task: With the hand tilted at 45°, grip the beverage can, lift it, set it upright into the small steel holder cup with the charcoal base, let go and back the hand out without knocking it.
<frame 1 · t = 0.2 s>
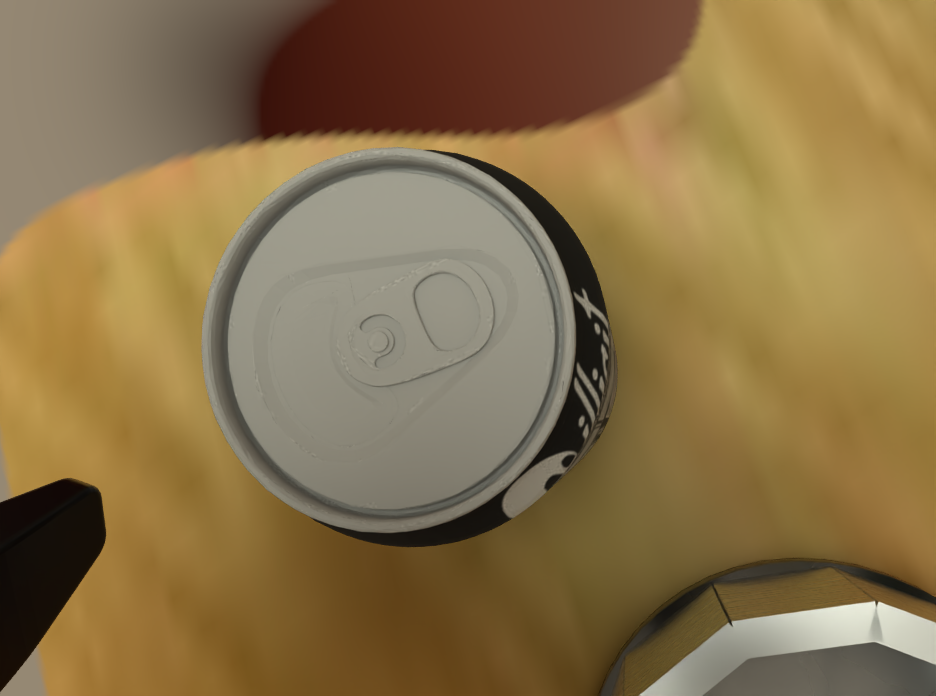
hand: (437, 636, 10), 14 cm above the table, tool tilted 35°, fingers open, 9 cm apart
beverage can: (501, 374, 25), on the table
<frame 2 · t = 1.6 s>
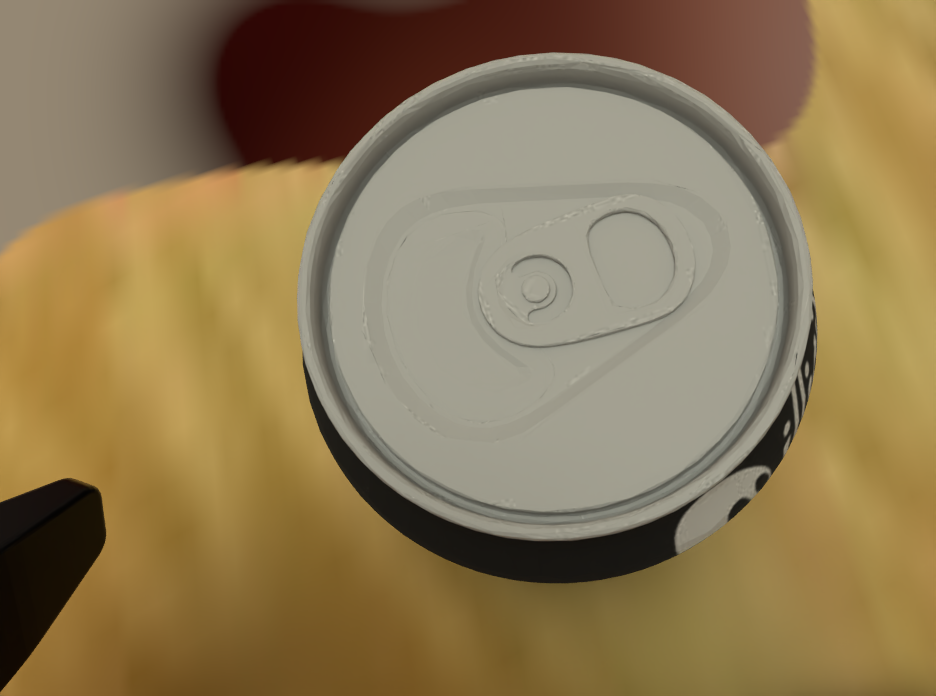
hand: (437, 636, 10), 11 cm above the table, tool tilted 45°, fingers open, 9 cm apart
beverage can: (564, 443, 21), on the table
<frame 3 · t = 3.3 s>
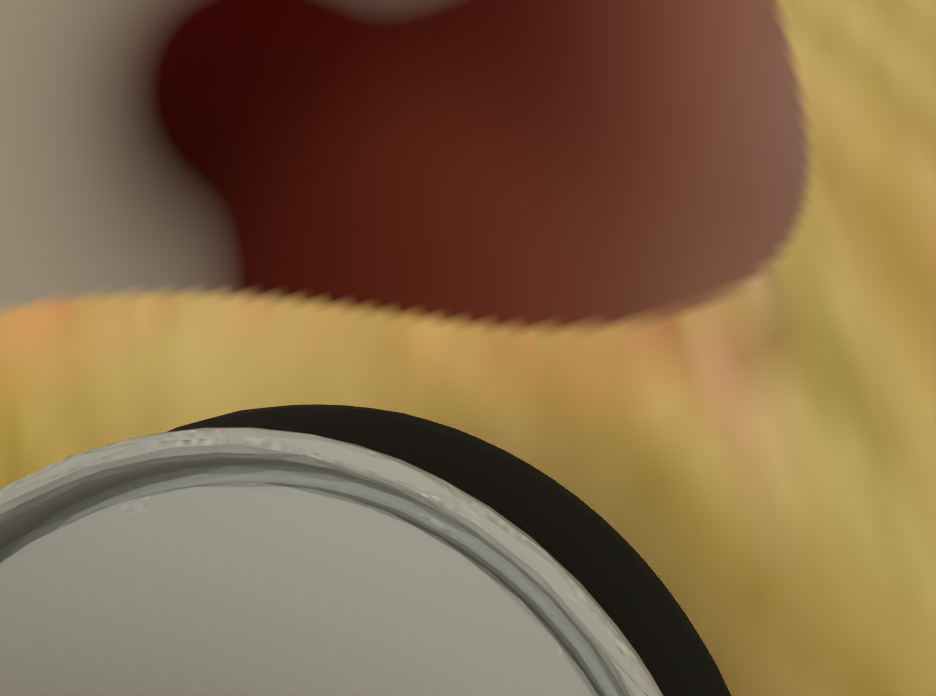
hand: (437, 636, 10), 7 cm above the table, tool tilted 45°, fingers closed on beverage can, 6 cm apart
beverage can: (473, 685, 16), on the table, touching gripper
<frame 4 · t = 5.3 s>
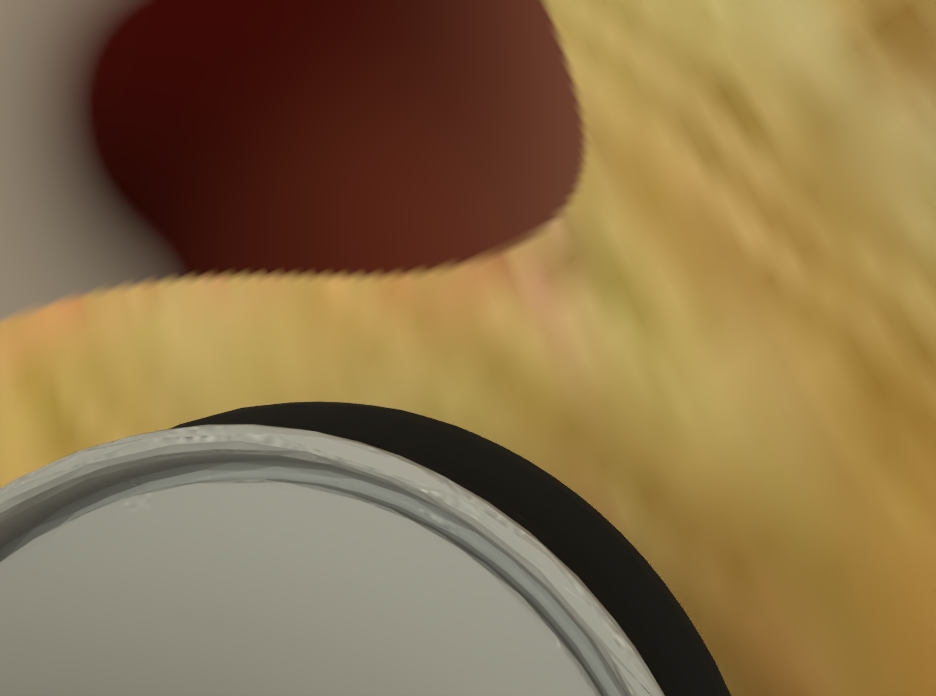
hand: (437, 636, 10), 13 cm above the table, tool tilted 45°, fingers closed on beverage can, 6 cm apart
beverage can: (473, 681, 16), point 6 cm above the table, touching gripper
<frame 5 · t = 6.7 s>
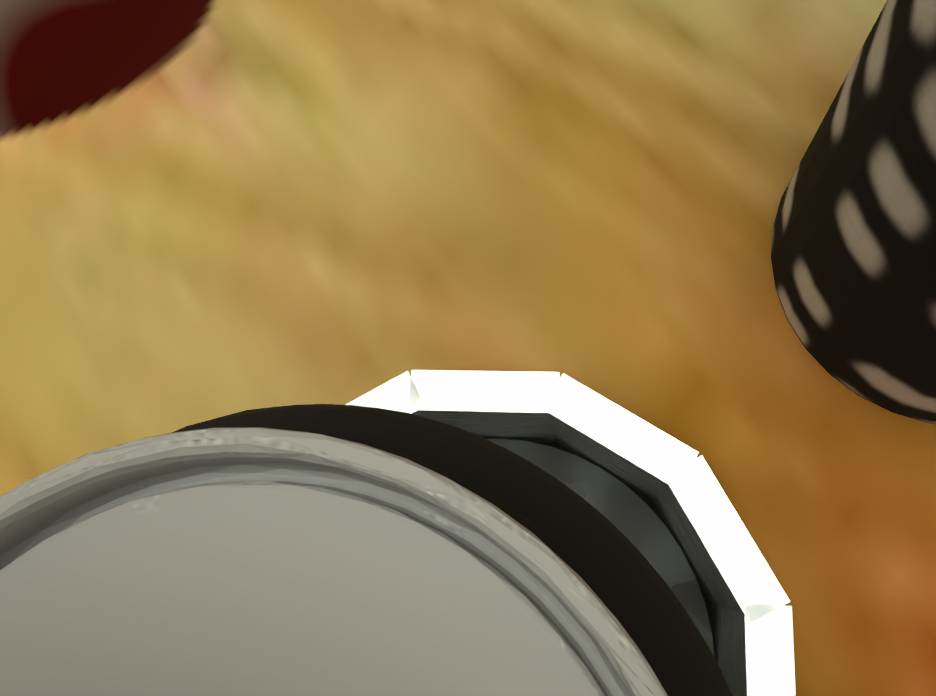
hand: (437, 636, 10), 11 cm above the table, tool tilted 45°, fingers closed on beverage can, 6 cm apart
can holder: (498, 647, 20), on the table
beverage can: (475, 681, 16), point 4 cm above the table, touching gripper
when the fingers open (9 cm above the table, at t = 7.7 s): beverage can stays where it is, resting on can holder.
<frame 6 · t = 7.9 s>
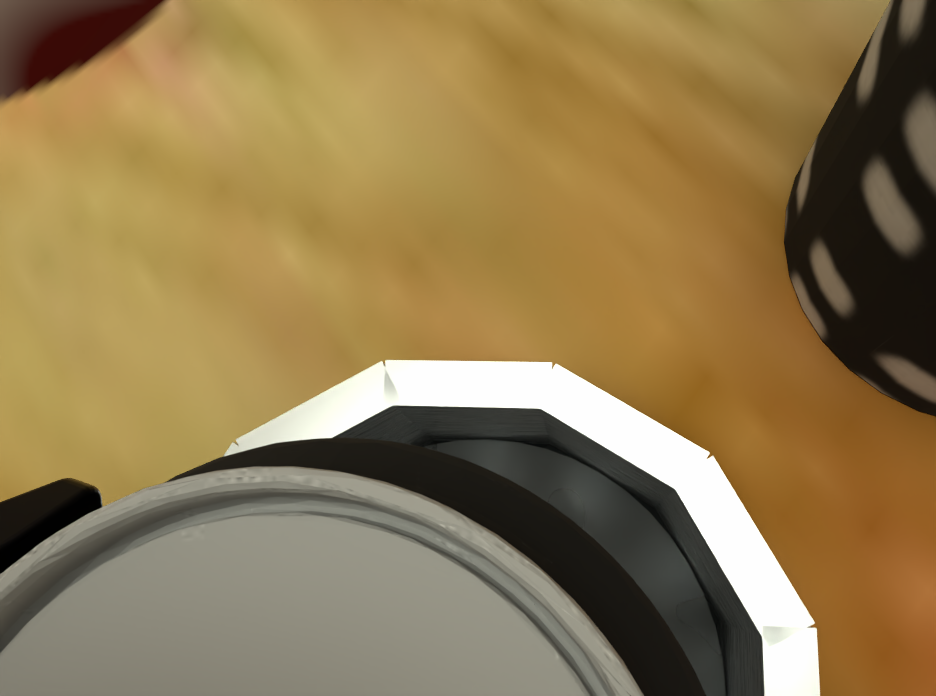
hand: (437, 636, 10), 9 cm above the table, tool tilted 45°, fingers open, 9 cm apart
can holder: (485, 670, 18), on the table
beverage can: (477, 684, 17), point 1 cm above the table, touching can holder
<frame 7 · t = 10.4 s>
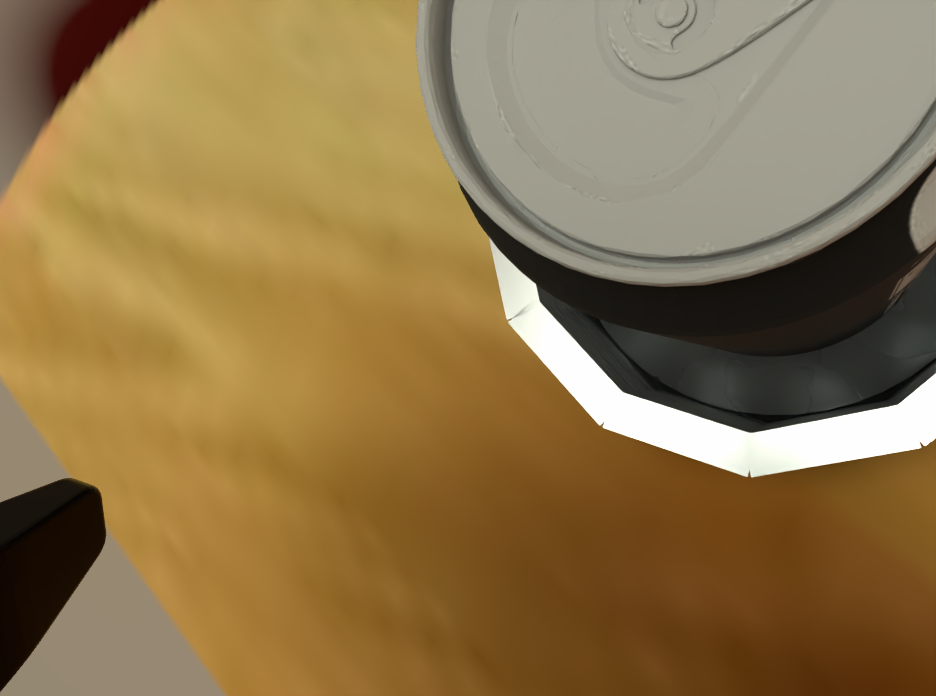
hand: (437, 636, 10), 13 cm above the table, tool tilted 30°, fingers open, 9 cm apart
can holder: (776, 216, 21), on the table
beverage can: (773, 213, 19), point 1 cm above the table, touching can holder
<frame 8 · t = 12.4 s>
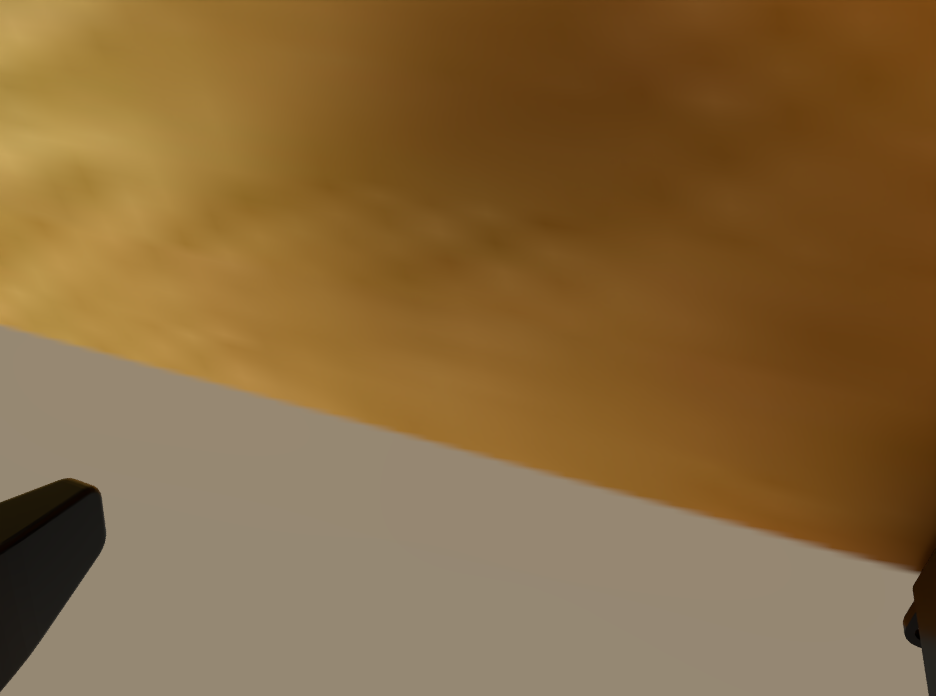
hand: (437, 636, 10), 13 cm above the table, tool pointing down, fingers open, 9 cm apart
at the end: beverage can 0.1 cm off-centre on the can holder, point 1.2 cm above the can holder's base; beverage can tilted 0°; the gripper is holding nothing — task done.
